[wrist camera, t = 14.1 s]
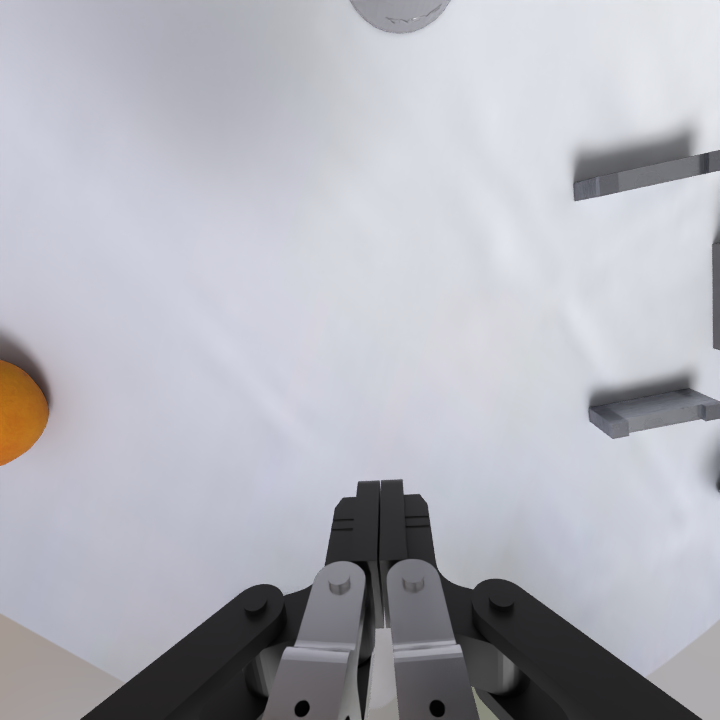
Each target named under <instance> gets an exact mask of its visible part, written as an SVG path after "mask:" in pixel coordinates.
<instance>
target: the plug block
mask: <svg viewBox="0 0 720 720" xmlns="http://www.w3.org/2000/svg"><path fill="white" fill-rule="evenodd" d="M712 264H713V348H714V349H718V350H720V243H716V244H712Z"/></svg>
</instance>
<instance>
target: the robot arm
mask: <svg viewBox="0 0 720 720" xmlns="http://www.w3.org/2000/svg"><path fill="white" fill-rule="evenodd" d="M350 1H351V2H352V4H353V6H354V7H355V9H356V10H357V11H358V13H359V14H360V15H361V16H362V17H363V18H364V19H365V20H366V21H368V22H369V23H370V24H372V25H373V26H375V27H376V28H379V29H381V30H384V31H386V32H393V33H407V32H413V31H416V30H418V29H421V28H423V27H425V26H426V25H428V24H430V23H431V22H433V21H434V20H435V19H436V18H437V17H438V16H439V15H440V14H441V13H442V12H443V11H444V9H445V8H446V6H447V5H448V3H449V2H450V0H350ZM384 610H385V620H386V628H391V634H392V645H393V656H394V667H395V678H396V688H397V699H398V710H399V720H480V719H479V715H478V711H477V707H476V703H475V699H474V696H473V692H472V688H471V686H472V687H474V688H475V690H476V693H477V695H478V696H479V698H480V699H481V700H482V702H483V703H484V704H485V705H486V706H487V707H488V708H489V709H490V710H491V711H492V712H493V713H494V714H495V715H496V716H497V718H498V719H499V720H702V719H701V718H699V717H698V716H697V715H695V714H694V713H693V712H691V711H690V710H688V709H687V708H686V707H684V706H683V705H682V704H680V703H679V702H677V701H676V700H675V699H673V698H672V697H671V696H669V695H668V694H666V693H665V692H664V691H662V690H661V689H660V688H658V687H657V686H655V685H654V684H653V683H651V682H650V681H649V680H647V679H646V678H644V677H643V676H642V675H640V674H639V673H638V672H636V671H635V670H633V669H632V668H631V667H629V666H628V665H626V664H625V663H624V662H622V661H621V660H620V659H618V658H617V657H615V656H614V655H613V654H611V653H610V652H609V651H607V650H606V649H604V648H603V647H602V646H600V645H599V644H598V643H596V642H595V641H593V640H592V639H591V638H589V637H588V636H587V635H585V634H584V633H582V632H581V631H580V630H578V629H577V628H576V627H574V626H573V625H571V624H570V623H569V622H567V621H566V620H565V619H563V618H562V617H560V616H559V615H558V614H556V613H555V612H554V611H552V610H551V609H549V608H548V607H547V606H545V605H544V604H543V603H541V602H540V601H538V600H537V599H536V598H534V597H533V596H531V595H530V594H529V593H527V592H526V591H525V590H523V589H522V588H520V587H519V586H517V585H516V584H514V583H512V582H510V581H507V580H503V579H488V580H485V581H482V582H481V583H479V584H478V585H477V586H476V587H475V588H474V590H473V589H469V588H465V587H461V586H458V585H456V584H453V583H451V582H450V581H448V580H447V579H446V578H444V577H443V576H442V574H441V573H440V572H439V570H438V568H437V565H436V560H435V553H434V546H433V540H432V533H431V526H430V519H429V512H428V505H427V503H426V502H425V500H424V499H423V498H422V497H421V495H420V494H411V495H404V493H403V480H402V479H399V480H381V487H380V481H359V482H358V486H357V495H356V497H347V498H342V500H341V501H340V502H339V504H338V505H337V506H336V507H335V511H334V517H333V523H332V528H331V534H330V539H329V545H328V550H327V556H326V562H325V567H324V568H322V569H321V570H320V571H319V572H318V573H317V575H316V577H315V579H314V582H313V584H312V585H311V586H309V587H307V588H305V589H303V590H301V591H298V592H295V593H291V594H288V595H285V596H283V594H282V592H281V591H280V590H279V589H278V588H277V587H275V586H273V585H269V584H260V585H256V586H253V587H250V588H248V589H246V590H244V591H243V592H242V593H240V594H239V595H238V596H236V597H235V598H234V599H233V600H231V601H230V602H229V603H228V604H226V605H225V606H224V607H222V608H221V609H220V610H219V611H217V612H216V613H215V614H214V615H212V616H211V617H210V618H209V619H207V620H206V621H205V622H203V623H202V624H201V625H200V626H198V627H197V628H196V629H195V630H193V631H192V632H191V633H189V634H188V635H187V636H186V637H184V638H183V639H182V640H181V641H179V642H178V643H177V644H175V645H174V646H173V647H172V648H170V649H169V650H168V651H167V652H165V653H164V654H163V655H161V656H160V657H159V658H158V659H156V660H155V661H154V662H153V663H151V664H150V665H149V666H148V667H146V668H145V669H144V670H142V671H141V672H140V673H139V674H137V675H136V676H135V677H134V678H132V679H131V680H130V681H128V682H127V683H126V684H125V685H123V686H122V687H121V688H120V689H118V690H117V691H116V692H115V693H114V694H112V695H111V696H109V697H108V698H107V699H106V700H104V701H103V702H102V703H101V704H99V705H98V706H97V707H95V708H94V709H93V710H92V711H91V712H89V713H88V714H87V715H85V716H84V717H83V718H81V719H80V720H368V714H369V704H370V695H371V685H372V675H373V666H374V647H375V628H384Z"/></svg>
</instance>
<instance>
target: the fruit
mask: <svg viewBox="0 0 720 720" xmlns="http://www.w3.org/2000/svg"><path fill="white" fill-rule="evenodd" d="M48 416H49V410H48V405H47V402H46V399H45V397H44V395H43V393H42V391H41V390H40V388H39V387H38V385H37V384H36V383H35V382H34V381H33V380H32V378H31V377H30V376H29V375H28V374H27V373H26V372H25V371H24V370H22V369H20V368H19V367H17V366H15V365H13V364H11V363H8V362H6V361H2V360H0V466H2V465H5V464H6V463H8V462H10V461H12V460H14V459H16V458H17V457H19V456H20V455H22V454H23V453H25V452H26V451H27V450H29V449H30V448H31V447H32V446H33V444H34V443H35V442H36V441H37V440H38V438H39V437H40V436H41V434H42V432H43V430H44V429H45V427H46V424H47V421H48Z"/></svg>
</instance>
